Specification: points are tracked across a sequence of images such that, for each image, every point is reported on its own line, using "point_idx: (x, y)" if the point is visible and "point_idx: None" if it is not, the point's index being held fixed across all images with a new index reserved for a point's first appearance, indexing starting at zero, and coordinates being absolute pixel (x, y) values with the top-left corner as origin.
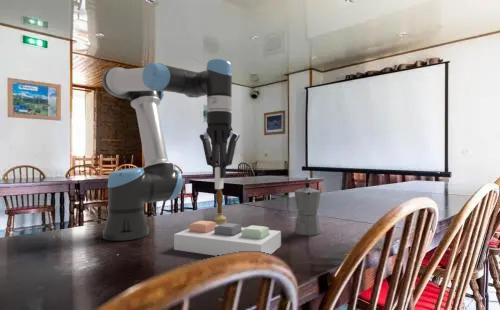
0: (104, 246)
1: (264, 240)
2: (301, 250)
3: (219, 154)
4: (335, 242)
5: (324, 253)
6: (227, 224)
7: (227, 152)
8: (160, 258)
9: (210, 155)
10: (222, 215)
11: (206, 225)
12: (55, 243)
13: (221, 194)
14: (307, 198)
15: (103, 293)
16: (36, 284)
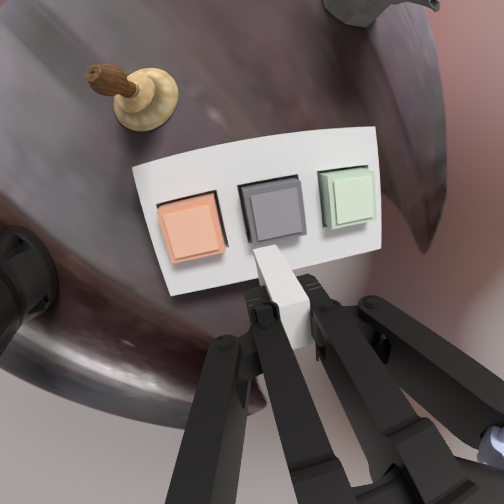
0: (70, 330)
1: (377, 220)
2: (397, 137)
3: (343, 404)
4: (420, 64)
5: (428, 138)
6: (272, 211)
7: (409, 389)
8: (200, 321)
9: (238, 410)
10: (139, 85)
11: (219, 244)
12: (24, 350)
13: (116, 76)
14: (419, 2)
15: (251, 399)
16: (175, 416)
